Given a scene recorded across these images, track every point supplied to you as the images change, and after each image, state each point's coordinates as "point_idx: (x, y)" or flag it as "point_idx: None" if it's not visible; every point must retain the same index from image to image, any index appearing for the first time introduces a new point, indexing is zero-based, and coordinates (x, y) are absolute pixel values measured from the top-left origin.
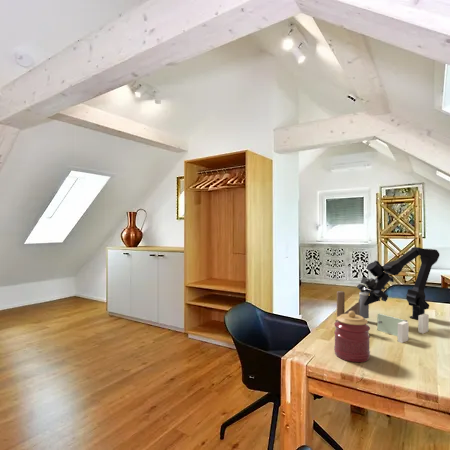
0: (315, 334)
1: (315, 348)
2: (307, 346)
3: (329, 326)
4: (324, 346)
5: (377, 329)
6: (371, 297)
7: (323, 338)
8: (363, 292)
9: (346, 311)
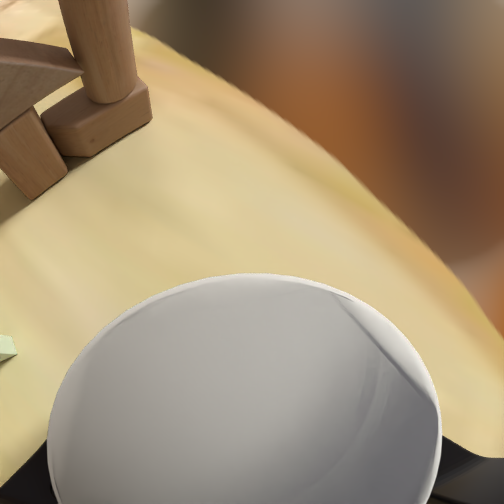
0: None
1: (14, 16)
2: (35, 3)
3: (158, 77)
4: (7, 31)
5: (9, 336)
6: (17, 499)
7: (48, 32)
8: (321, 489)
9: (31, 43)
